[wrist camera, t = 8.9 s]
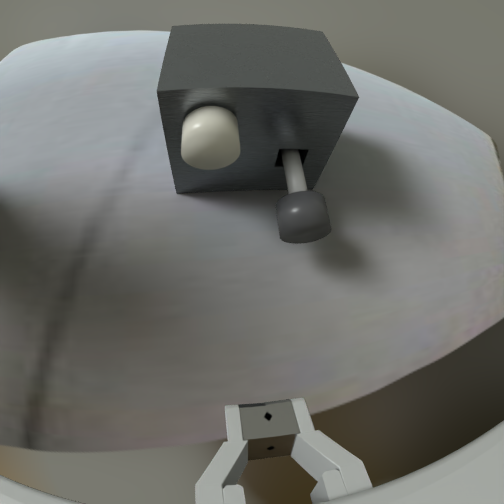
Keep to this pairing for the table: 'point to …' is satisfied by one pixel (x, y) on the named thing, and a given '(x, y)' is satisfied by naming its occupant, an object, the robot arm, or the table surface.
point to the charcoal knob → (300, 205)
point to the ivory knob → (210, 138)
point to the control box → (255, 100)
